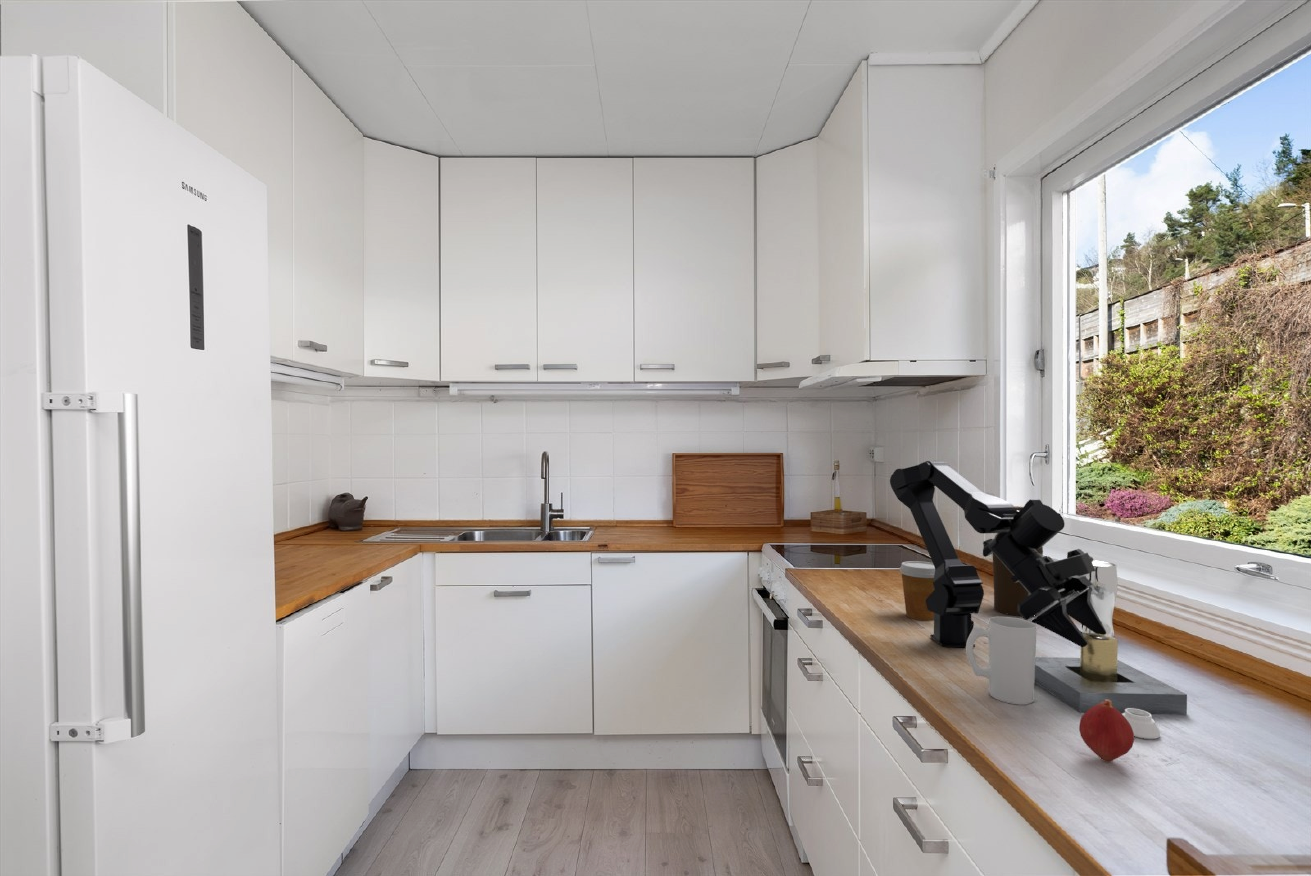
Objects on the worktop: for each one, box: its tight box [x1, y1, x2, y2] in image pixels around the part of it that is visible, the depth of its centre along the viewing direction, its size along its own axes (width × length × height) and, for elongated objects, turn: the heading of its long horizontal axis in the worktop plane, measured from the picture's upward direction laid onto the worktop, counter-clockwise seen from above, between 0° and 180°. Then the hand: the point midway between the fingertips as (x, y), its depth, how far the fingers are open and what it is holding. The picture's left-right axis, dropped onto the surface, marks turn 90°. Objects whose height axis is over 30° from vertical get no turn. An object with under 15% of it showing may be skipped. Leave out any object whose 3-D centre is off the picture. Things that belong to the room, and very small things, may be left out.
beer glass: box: [1079, 560, 1118, 638], centre depth 140 cm, size 7×7×15 cm
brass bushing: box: [1079, 633, 1119, 682], centre depth 107 cm, size 5×5×9 cm
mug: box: [965, 616, 1038, 706], centre depth 106 cm, size 10×7×12 cm, turn 71°
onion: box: [1078, 699, 1135, 763], centre depth 85 cm, size 6×6×8 cm
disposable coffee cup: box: [899, 560, 935, 621], centre depth 152 cm, size 10×10×12 cm
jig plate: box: [1034, 656, 1188, 715], centre depth 107 cm, size 16×16×3 cm
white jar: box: [1121, 708, 1161, 740], centre depth 93 cm, size 5×3×5 cm
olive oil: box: [992, 505, 1044, 617], centre depth 157 cm, size 11×11×25 cm
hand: (1095, 640), depth 108 cm, fingers open, 9 cm apart
